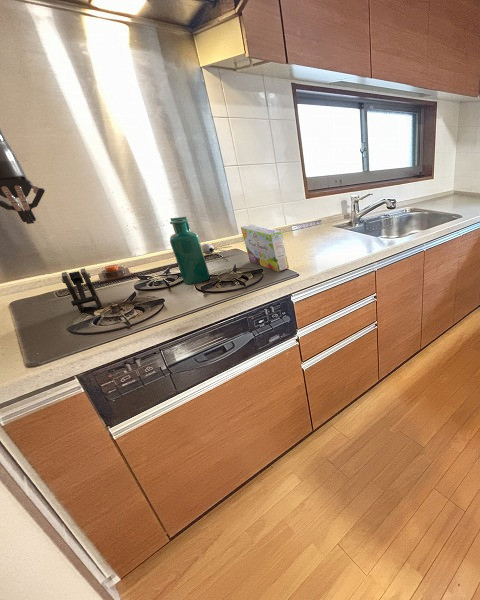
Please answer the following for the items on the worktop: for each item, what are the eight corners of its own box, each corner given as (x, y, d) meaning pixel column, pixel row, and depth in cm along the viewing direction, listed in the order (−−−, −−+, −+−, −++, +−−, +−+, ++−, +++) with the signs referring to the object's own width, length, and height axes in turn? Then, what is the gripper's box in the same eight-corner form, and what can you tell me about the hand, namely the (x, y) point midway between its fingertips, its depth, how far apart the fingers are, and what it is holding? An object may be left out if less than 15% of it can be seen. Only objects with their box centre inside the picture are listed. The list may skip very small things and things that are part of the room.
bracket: (113, 312, 97) (95, 272, 92) (73, 322, 92) (51, 281, 86) (110, 301, 104) (93, 264, 98) (73, 311, 99) (52, 272, 93)
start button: (119, 270, 120) (117, 266, 119) (107, 273, 117) (105, 268, 117) (118, 268, 122) (116, 263, 121) (106, 270, 120) (104, 266, 119)
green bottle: (211, 280, 118) (193, 220, 109) (184, 285, 114) (163, 223, 105) (209, 272, 126) (191, 215, 116) (184, 277, 122) (163, 218, 112)
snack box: (248, 262, 136) (239, 226, 129) (260, 258, 140) (252, 223, 133) (277, 272, 124) (269, 233, 117) (290, 268, 128) (283, 230, 121)
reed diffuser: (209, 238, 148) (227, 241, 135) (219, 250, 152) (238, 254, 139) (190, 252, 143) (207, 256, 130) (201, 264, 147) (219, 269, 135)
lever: (98, 302, 91) (94, 296, 89) (74, 308, 88) (70, 302, 86) (88, 275, 96) (85, 269, 94) (65, 280, 93) (61, 274, 91)
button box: (133, 280, 120) (129, 270, 119) (102, 287, 115) (97, 276, 113) (129, 272, 128) (125, 263, 126) (100, 279, 122) (95, 269, 120)
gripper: (32, 158, 95) (61, 217, 102) (-38, 160, 87) (-1, 225, 94) (30, 158, 90) (61, 221, 97) (-44, 161, 82) (-5, 229, 89)
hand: (30, 223), depth 96 cm, fingers closed
